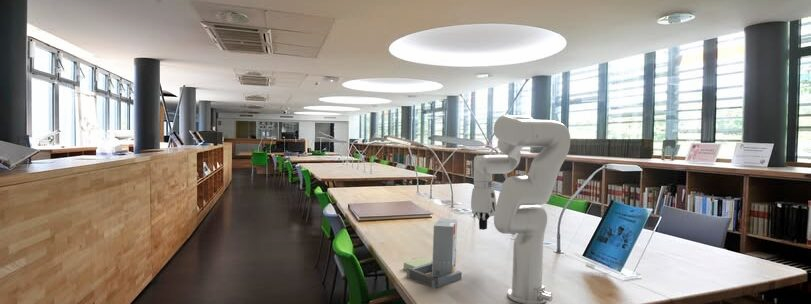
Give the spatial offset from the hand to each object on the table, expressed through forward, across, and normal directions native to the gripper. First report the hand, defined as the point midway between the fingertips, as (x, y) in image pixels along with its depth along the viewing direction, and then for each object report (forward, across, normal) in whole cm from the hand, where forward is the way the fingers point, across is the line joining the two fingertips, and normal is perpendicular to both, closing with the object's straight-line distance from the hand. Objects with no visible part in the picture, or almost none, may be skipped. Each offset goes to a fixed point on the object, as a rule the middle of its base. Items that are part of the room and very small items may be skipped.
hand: (483, 229), depth 158 cm
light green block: (+16, +16, +22) cm, 32 cm away
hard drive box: (+16, +6, +17) cm, 24 cm away
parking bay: (+16, +4, +25) cm, 30 cm away
